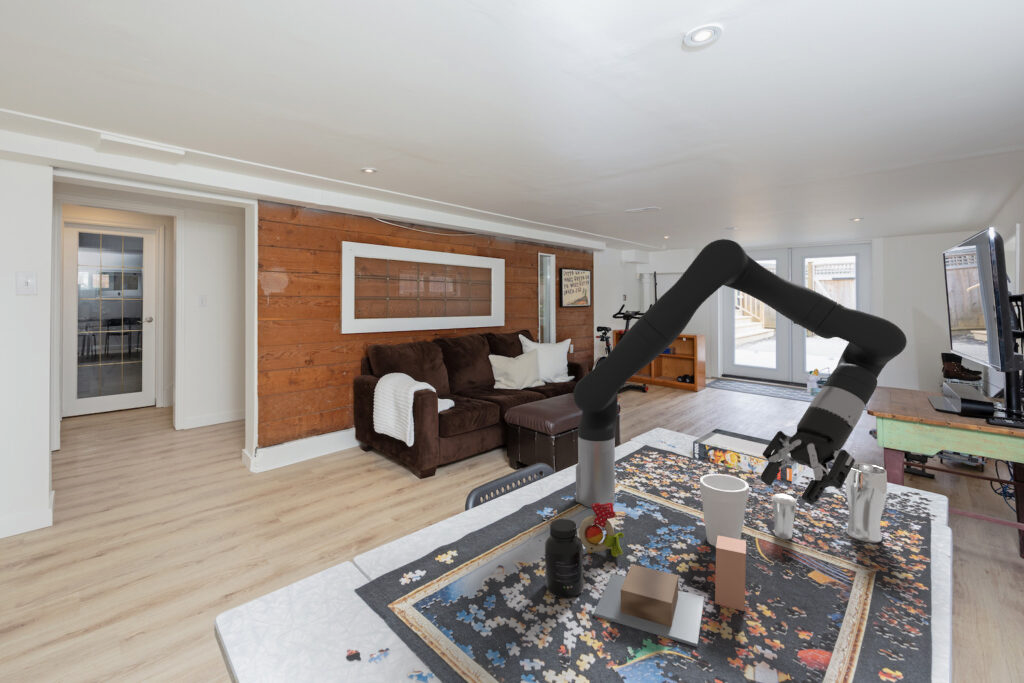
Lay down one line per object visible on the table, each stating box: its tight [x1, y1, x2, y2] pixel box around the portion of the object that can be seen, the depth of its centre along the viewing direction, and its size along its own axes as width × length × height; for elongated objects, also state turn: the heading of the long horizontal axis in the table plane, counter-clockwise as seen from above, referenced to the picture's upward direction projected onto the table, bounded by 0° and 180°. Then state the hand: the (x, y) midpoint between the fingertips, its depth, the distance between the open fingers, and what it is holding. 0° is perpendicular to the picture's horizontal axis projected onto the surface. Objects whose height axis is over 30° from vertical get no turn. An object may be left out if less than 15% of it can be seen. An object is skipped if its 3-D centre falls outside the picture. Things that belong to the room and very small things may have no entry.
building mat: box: [593, 573, 705, 648], centre depth 77 cm, size 16×12×1 cm
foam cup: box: [699, 473, 750, 548], centre depth 97 cm, size 10×9×13 cm
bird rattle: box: [578, 503, 625, 558], centre depth 94 cm, size 6×11×9 cm
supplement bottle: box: [544, 518, 584, 599], centre depth 83 cm, size 7×7×12 cm
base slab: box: [621, 563, 679, 627], centre depth 77 cm, size 8×8×4 cm
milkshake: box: [771, 491, 801, 540], centre depth 99 cm, size 4×5×10 cm
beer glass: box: [845, 462, 888, 544], centre depth 98 cm, size 7×7×15 cm
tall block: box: [714, 535, 747, 612], centre depth 79 cm, size 4×4×10 cm
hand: (784, 491), depth 81 cm, fingers open, 8 cm apart
